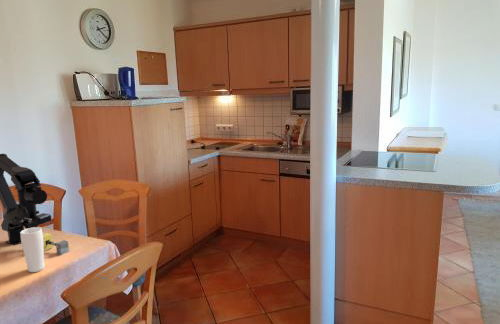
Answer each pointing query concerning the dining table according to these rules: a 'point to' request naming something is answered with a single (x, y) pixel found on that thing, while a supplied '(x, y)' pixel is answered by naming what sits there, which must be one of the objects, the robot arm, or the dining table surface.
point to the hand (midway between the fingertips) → (31, 236)
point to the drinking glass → (33, 248)
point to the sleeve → (47, 238)
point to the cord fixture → (60, 246)
